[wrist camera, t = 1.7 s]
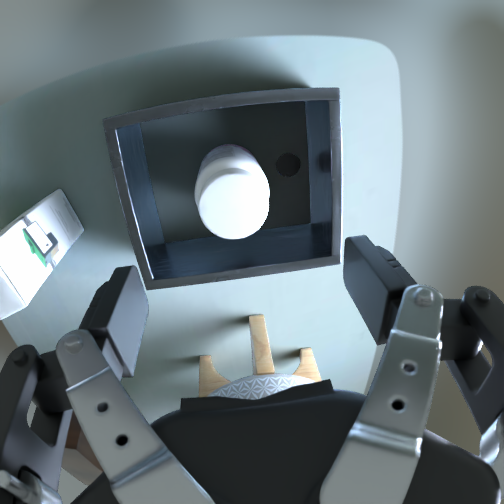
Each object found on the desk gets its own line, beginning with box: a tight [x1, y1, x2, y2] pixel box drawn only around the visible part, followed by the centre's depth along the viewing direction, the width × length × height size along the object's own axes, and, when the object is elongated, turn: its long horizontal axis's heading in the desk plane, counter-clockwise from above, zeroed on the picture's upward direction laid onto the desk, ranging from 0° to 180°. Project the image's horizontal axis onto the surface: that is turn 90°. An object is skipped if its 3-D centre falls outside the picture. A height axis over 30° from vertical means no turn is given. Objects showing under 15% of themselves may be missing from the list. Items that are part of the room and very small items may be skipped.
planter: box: [199, 315, 322, 400], centre depth 28 cm, size 13×13×18 cm
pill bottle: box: [195, 144, 269, 239], centre depth 21 cm, size 5×5×8 cm
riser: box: [61, 410, 104, 485], centre depth 33 cm, size 14×7×12 cm, turn 6°
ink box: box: [0, 189, 84, 320], centre depth 20 cm, size 9×5×12 cm, turn 112°
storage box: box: [103, 88, 343, 290], centre depth 22 cm, size 15×13×6 cm
